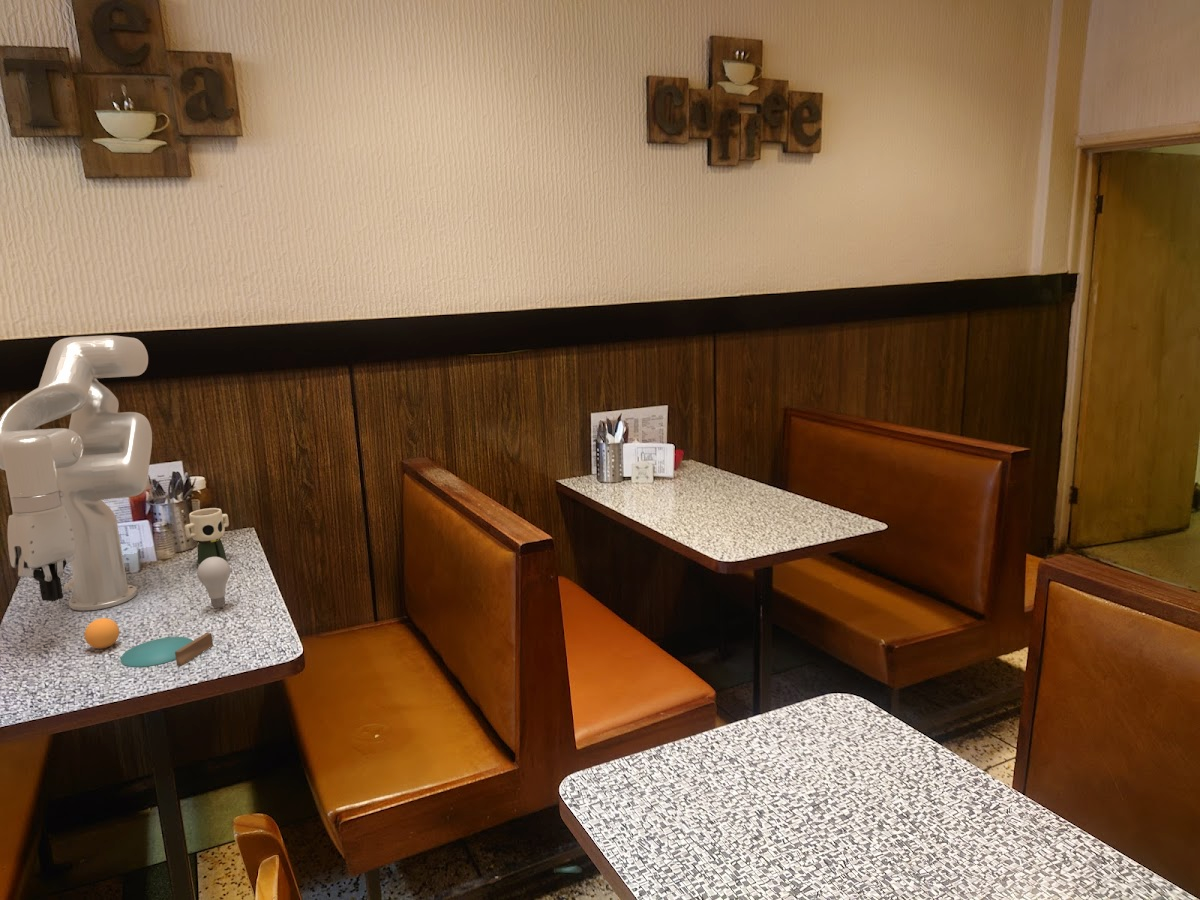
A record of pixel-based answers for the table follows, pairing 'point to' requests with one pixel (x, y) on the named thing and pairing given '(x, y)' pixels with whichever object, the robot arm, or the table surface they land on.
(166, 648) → the disc
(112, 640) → the ball
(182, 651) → the stopper strip
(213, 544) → the character mug
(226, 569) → the lightbulb
